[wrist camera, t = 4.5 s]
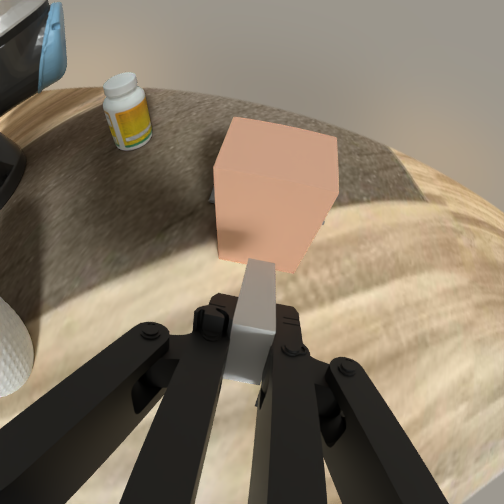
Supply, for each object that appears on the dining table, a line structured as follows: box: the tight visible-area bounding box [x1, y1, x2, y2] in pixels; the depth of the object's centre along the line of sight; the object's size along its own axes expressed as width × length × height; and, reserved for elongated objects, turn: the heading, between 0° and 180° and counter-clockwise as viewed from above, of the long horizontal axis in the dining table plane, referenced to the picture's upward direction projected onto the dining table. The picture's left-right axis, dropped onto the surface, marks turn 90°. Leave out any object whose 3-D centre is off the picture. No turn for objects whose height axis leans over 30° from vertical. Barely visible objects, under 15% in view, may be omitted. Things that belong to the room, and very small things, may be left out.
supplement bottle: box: [103, 72, 152, 151], centre depth 27 cm, size 5×5×10 cm
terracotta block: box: [213, 117, 339, 274], centre depth 21 cm, size 5×7×12 cm
